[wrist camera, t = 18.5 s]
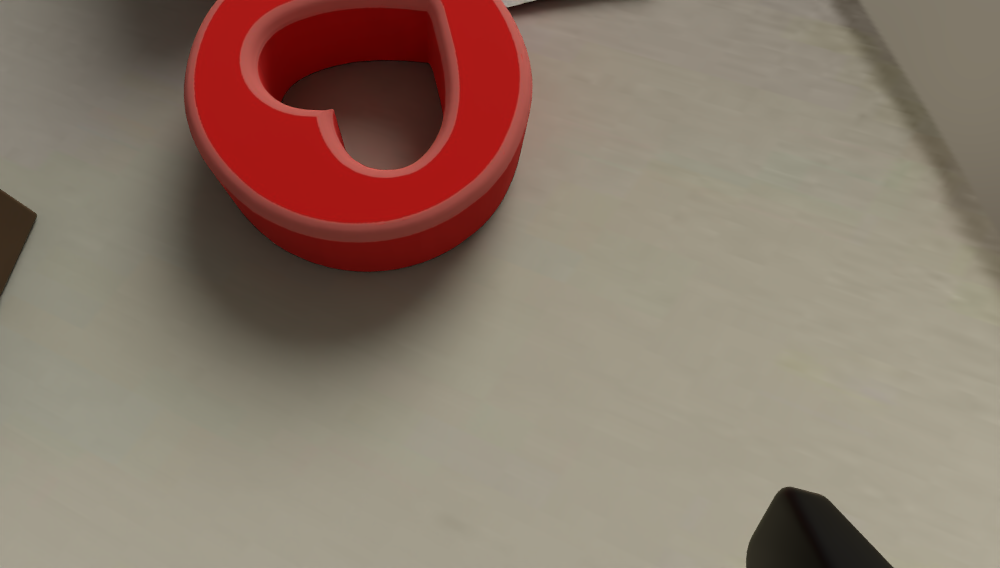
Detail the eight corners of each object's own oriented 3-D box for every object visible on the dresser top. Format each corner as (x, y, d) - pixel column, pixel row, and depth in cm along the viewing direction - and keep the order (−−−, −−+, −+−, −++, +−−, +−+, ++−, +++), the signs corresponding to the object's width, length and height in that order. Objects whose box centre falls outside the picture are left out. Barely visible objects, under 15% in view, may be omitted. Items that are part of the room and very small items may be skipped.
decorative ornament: (552, 39, 25) (568, -24, 22) (476, 308, 22) (481, 279, 19) (276, -38, 25) (253, -112, 22) (166, 222, 22) (122, 179, 19)
